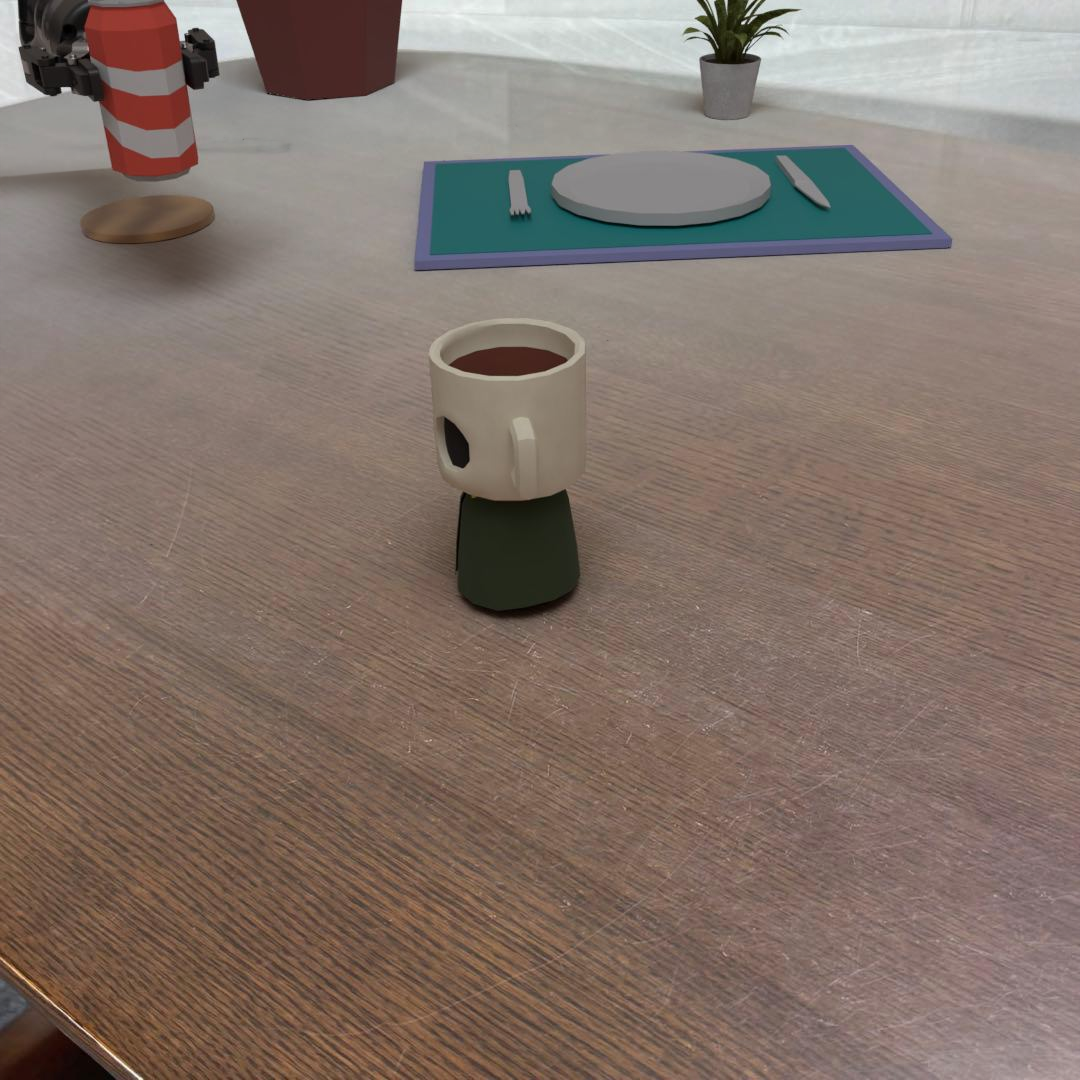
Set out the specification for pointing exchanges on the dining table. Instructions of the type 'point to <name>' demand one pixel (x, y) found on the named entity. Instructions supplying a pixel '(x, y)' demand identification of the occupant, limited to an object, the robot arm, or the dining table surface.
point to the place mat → (663, 207)
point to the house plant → (731, 56)
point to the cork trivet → (147, 219)
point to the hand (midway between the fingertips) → (147, 80)
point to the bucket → (323, 45)
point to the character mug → (511, 454)
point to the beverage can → (142, 88)
